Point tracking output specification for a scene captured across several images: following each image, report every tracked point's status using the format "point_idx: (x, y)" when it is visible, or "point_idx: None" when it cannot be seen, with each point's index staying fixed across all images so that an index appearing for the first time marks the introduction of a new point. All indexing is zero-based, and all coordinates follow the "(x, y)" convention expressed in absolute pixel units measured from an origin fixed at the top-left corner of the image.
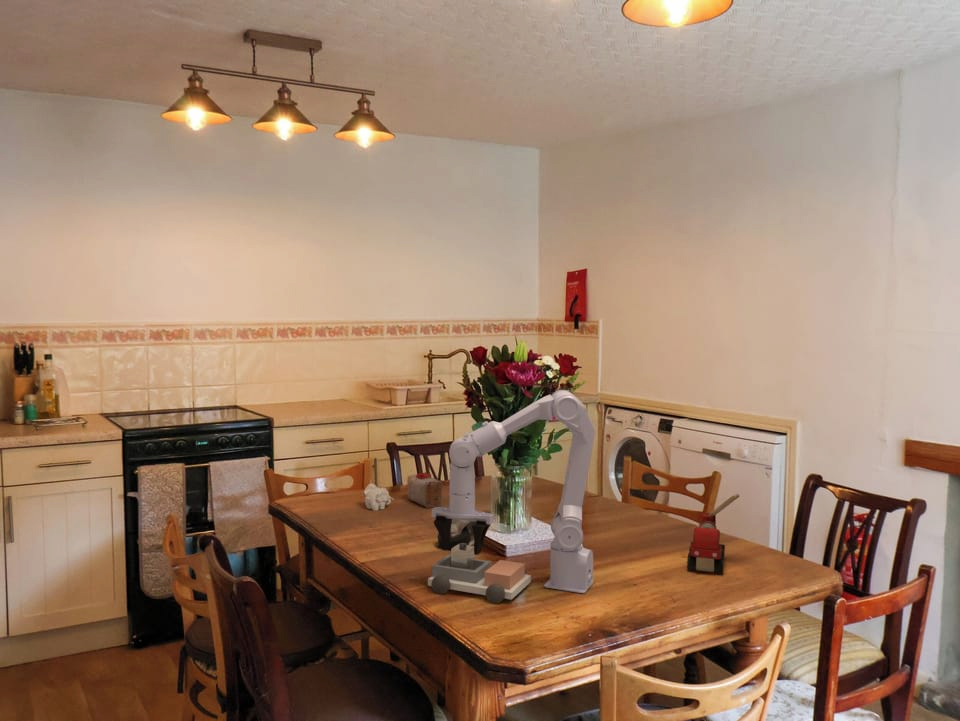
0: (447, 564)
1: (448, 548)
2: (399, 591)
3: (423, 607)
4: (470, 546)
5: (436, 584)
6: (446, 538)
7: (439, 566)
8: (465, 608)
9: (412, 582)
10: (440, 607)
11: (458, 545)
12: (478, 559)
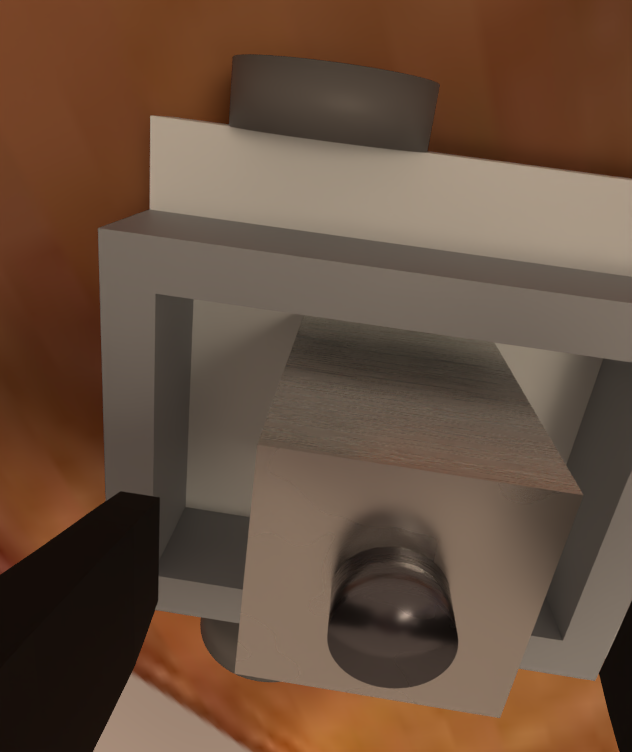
0: (178, 335)
1: (154, 547)
2: None
3: (267, 739)
4: (508, 524)
5: None
6: (67, 748)
7: (190, 610)
8: (503, 718)
9: (2, 424)
10: (357, 727)
11: (283, 519)
12: (559, 297)
